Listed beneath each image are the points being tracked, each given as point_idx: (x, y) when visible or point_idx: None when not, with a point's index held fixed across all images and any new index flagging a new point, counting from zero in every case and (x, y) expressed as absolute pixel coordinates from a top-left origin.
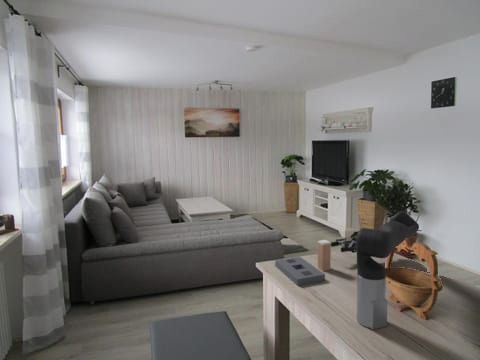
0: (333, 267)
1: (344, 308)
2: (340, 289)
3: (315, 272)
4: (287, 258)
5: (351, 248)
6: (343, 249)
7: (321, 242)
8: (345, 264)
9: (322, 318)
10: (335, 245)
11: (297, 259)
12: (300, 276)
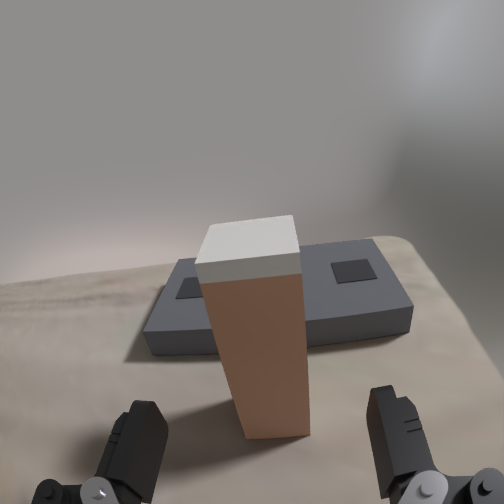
0: (271, 474)
1: (26, 319)
2: (69, 362)
3: (182, 310)
4: (387, 265)
5: (68, 490)
6: (125, 419)
7: (235, 222)
8: None
9: (50, 280)
10: (378, 462)
11: (370, 291)
12: (188, 268)
